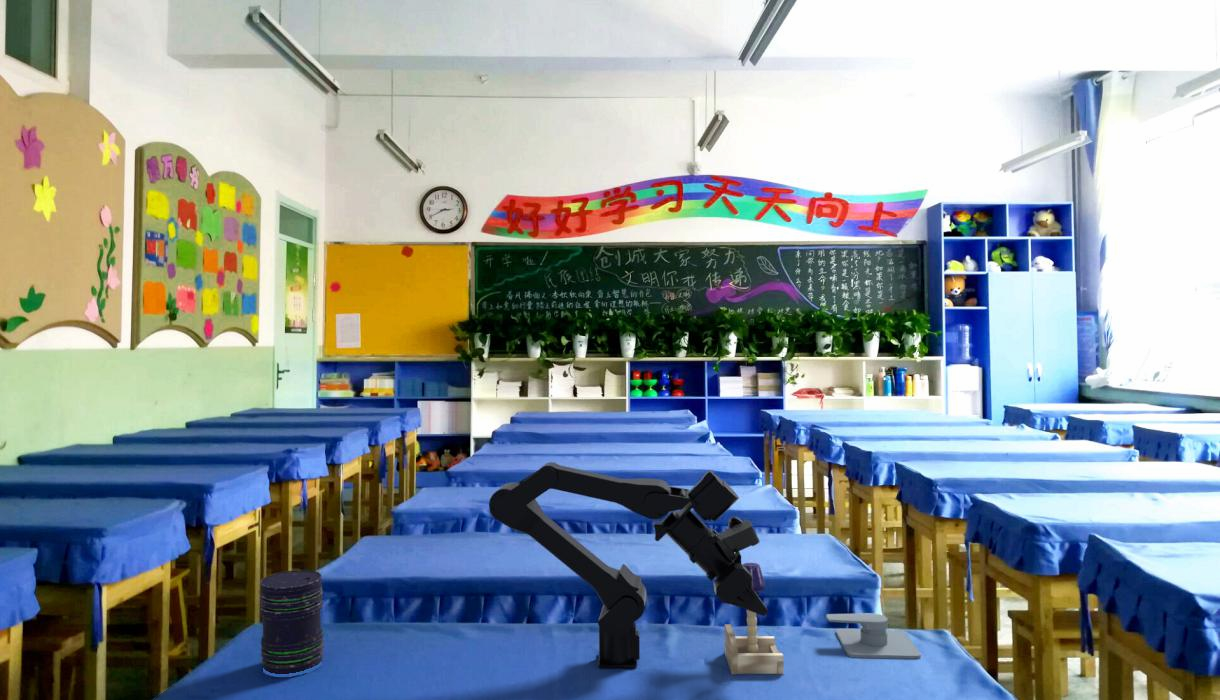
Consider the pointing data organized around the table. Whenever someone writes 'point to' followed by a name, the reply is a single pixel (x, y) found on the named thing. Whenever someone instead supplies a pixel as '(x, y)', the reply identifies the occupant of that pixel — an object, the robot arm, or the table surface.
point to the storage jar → (291, 621)
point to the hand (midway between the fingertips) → (761, 604)
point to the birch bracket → (752, 655)
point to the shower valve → (873, 638)
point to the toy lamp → (751, 618)
